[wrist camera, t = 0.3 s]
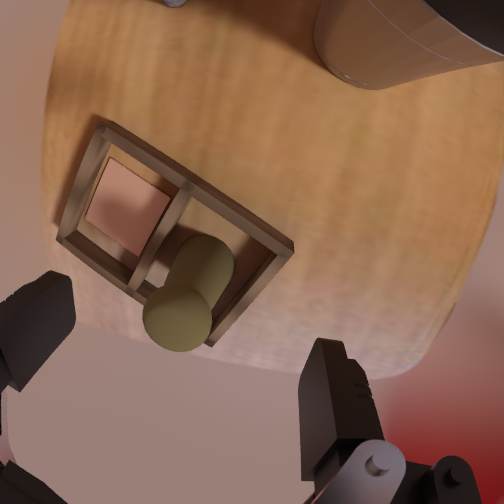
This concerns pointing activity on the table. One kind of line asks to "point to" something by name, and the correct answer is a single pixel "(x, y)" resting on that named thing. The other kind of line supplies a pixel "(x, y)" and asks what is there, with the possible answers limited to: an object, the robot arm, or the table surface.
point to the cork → (189, 294)
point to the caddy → (154, 219)
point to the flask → (175, 3)
